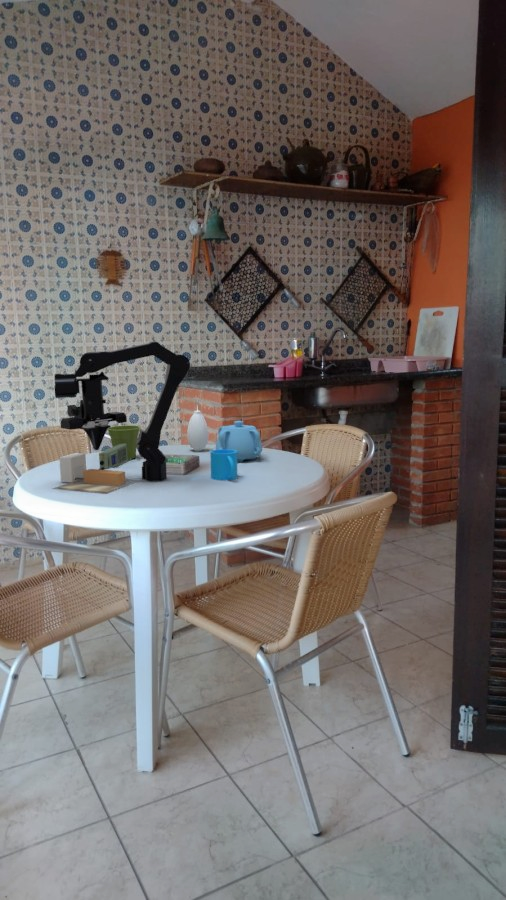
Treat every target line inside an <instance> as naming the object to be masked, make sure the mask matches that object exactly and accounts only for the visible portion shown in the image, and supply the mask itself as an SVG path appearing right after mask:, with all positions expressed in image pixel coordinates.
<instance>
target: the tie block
mask: <svg viewBox="0 0 506 900" xmlns="http://www.w3.org/2000/svg"><path fill="white" fill-rule="evenodd" d="M85 470H87V457H86V453H76V452H74V453H69V454H67V455H63V456H60V457H59V471H60V482H62V483H70V482H71V483H73V482H74V481H75V478H76V479H82V478H84V476H83V471H85Z"/></svg>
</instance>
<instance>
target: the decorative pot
mask: <svg viewBox="0 0 506 900" xmlns="http://www.w3.org/2000/svg"><path fill="white" fill-rule="evenodd" d="M217 430H218V433H217V434H218V436H217V438H216V442H215V450H219V449H230V450H236V451H237V463H244V460H256V458H257V457H260V456H261V453H262V451H263V443H262V440H261V434H260V432H259V430H258V429H257V427H256V426H254V425H247V424H244V420H234V421H233V424H229V425H222V426H220V427H219V428H218V429H217Z"/></svg>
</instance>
